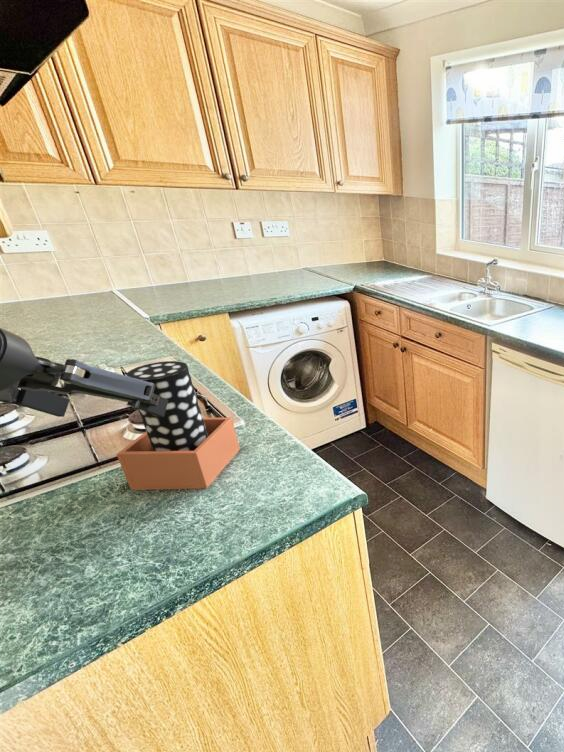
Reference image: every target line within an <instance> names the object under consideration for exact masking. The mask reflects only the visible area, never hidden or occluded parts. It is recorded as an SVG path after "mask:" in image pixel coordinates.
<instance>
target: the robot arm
mask: <svg viewBox="0 0 564 752" xmlns="http://www.w3.org/2000/svg"><path fill="white" fill-rule="evenodd" d="M59 380H60V381H63V384H62V387H60V386H57V385H59V384H58V383H59ZM154 389H155V384H153V383H150V382H146V381H143V380H139V379H135V378H132V377H128V376H126V374H125V375H124V374H120V373H117V372H113V371H110V370H107V369H104V368H99V367H96V366H93V365H90V364H87V363H84V362H82V361H79V360H77V359H73V358H68V359H66V360H65V361H64V363H58V362H54V361H51V360H50V359H48V358H44V357H40V356H36V355H35V353H34V351H33V349H32V347H31V344H29V343H28V341H27V340H26V339H24V338H23V337H21V336H20V335H18V334H15V333H13V332H12V331H8V330H6V329H4V328H2V327H0V402H1V403H3V404H12V403H14V404H15V405H17V406H21V407H25V408H27V409H31V410H34V411H37V412H41V413H45V414H48V415H52V416H54V417H58V418H63V417H64V418H65V415H66V412H67V409H68V406H69V403H70V400H71V399H70V398H67V397H65V396H62V395H68V394H70V393H76V394H81V395H86V396H92V397H98V398H103V399H110V400H113V401H114V400H115V401H119V402H125V403H126V405H127V406H129V407H131V409H137V410H138V409H140V410H143V411H145V412H148V413H150V414H153V415H155V416H158V417H164V415H165V411H166V407H167V403H168V400H167V399H165V398H163V397H161V396H159V395H156V394H154ZM59 394H60V395H59Z"/></svg>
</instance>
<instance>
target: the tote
mask: <svg viewBox="0 0 564 752" xmlns="http://www.w3.org/2000/svg"><path fill="white" fill-rule="evenodd" d="M203 420H204V424H205V427H206V431H207V434H208V438H206V439H205V440H204V441H203V442H202V443H201V444H200V445H199V446H198V447H197V448H196V449H195V450H194V451H153V448H152V446H151V443H150V440H149V437H148V435H147V432H146V431H145V432H143V433H142V434H140V435H139V436H138V437H137V438H136V439H134V440H132V442H130V443H129V444H127V445H126V446H125V447H124V448H122V449H121V450H119V451H118V453H116V456H117V459H118V462H119V464H120V466H121V469H122V472H123V474H124V476H125V479H126V481H127V483H128V486H129V489H130V490H131V491H141V490H143V491H144V490H146V491H147V490H183V489H184V490H186V489H187V490H190V489H208V488H209V487H210V486H211V484H212V483H213V482H214V481H215V480H216V478H217V477H218V476H219V475H220V474H221V473H222V471H223V470H224V469H225V468H226V467H227V466H228V464H229V463H230V462H231V461H232V460H233V458H234V457H235V456H236V455H237V454H238V452H239V451H240V450H241V447H240V443H239V440H238V436H237V433H236V428H235V425H234V421H233V418H232V417H203Z"/></svg>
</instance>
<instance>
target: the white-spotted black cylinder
mask: <svg viewBox="0 0 564 752" xmlns="http://www.w3.org/2000/svg"><path fill="white" fill-rule="evenodd" d="M125 376H128V377H132V378H135V379H139V380H143V381H146V382H150V383H153V384H155V389H154V394H156V395H159V396H161V397H163V398H165V399H167V400H168V403H167V407H166V411H165V415H164V417H158V416H155V415H153V414H150V413H148V412H145V411H143V410H140V409H137V410H138V412H139V416H140V419H141V421H142V423H143V426H144V430H145V432H147V435H148V437H149V440H150V443H151V446H152V448H153V451H194V450H195V449H196V448H197V447H198V446H199V445H200V444H201V443H202V442H203V441H204V440H205V439H206V438H208V434H207V431H206V427H205V424H204V420H203V418H204V417H203V414H202V409H201V407H200V404H199V399H198V396H197V394H196V393H197V392H196V390H195V386H194V383H193V379H192V376H191V373H190V369H189V366H188V364H187V363H185V362H183V361H176V360H167V361H166V360H165V361H157V362H151V363H147V364H143V365H140V366H137V367H134V368H132V369H130V370H129V371H128V372H126V374H125Z"/></svg>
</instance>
